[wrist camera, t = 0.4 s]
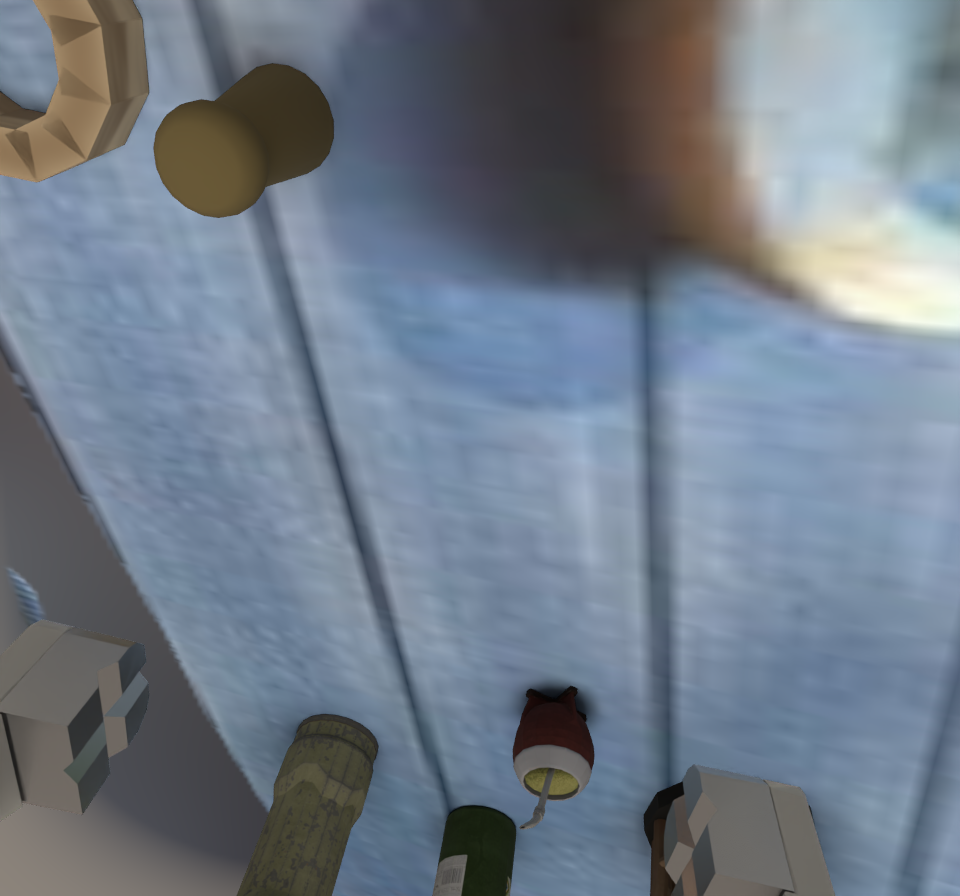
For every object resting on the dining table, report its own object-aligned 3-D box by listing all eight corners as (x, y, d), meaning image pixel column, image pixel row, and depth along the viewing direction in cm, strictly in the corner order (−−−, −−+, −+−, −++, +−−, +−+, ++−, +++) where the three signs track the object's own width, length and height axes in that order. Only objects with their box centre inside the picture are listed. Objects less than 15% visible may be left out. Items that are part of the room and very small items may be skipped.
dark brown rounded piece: (229, 158, 44) (132, 213, 35) (236, 48, 41) (129, 78, 32) (326, 189, 44) (254, 251, 35) (341, 82, 41) (265, 121, 32)
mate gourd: (568, 736, 71) (560, 901, 59) (497, 703, 70) (474, 865, 57) (612, 698, 67) (613, 867, 55) (538, 662, 66) (521, 827, 53)
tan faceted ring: (-132, -149, 38) (-202, -157, 35) (131, -97, 37) (85, -101, 34) (-59, 137, 46) (-110, 151, 43) (157, 182, 46) (123, 200, 42)
